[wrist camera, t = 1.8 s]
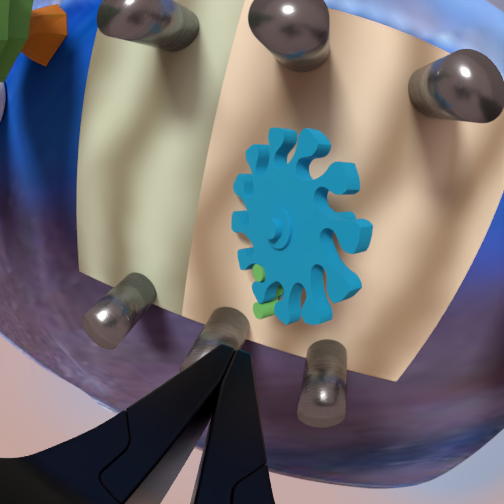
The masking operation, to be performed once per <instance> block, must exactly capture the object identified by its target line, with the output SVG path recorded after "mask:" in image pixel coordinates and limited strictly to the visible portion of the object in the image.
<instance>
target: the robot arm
mask: <svg viewBox="0 0 504 504" xmlns="http://www.w3.org/2000/svg"><path fill="white" fill-rule="evenodd" d="M211 416H212V417H211ZM210 419H211V421H210ZM209 421H210V425H209V428H208V432H207V437H206V441H205V445H204V449H203V453H202V457H201V461H200V465H199V470H198V474H197V478H196V482H195V486H194V490H193V494H192V498H191V503H190V504H275V502H274V498H273V493H272V488H271V483H270V478H269V471H268V465H266V463H267V459H266V452H265V446H264V439H263V432H262V425H261V418H260V412H259V405H258V398H257V391H256V383H255V376H254V369H253V362H252V356H251V354H250V353H249V352H246V351H243V350H240V349H237V350H236V351H235V348H234V347H231V346H228V345H225V344H219V345H218V346H216V347H215V348H214V349H212V350H211V351H210V352H208V353H207V354H205V355H204V356H203V357H201V358H200V359H198V360H197V361H196V362H194V363H193V364H191V365H190V366H189V367H187V368H186V369H184V370H183V371H181V372H180V373H179V374H177V375H176V376H174V377H173V378H171V379H170V380H168V381H167V382H166V383H164V384H163V385H161V386H160V387H158V388H157V389H155V390H154V391H152V392H151V393H149V394H148V395H146V396H145V397H143V398H142V399H140V400H139V401H137V402H136V403H134V404H133V405H131V406H130V407H128V408H127V409H126V411H125V410H124V411H122V412H120V413H119V414H117V415H116V416H114V417H113V418H111V419H109V420H108V421H106V422H105V423H103V424H101V425H99V426H97V427H96V428H94V429H92V430H89V431H87V432H85V433H83V434H81V435H79V436H77V437H75V438H72V439H70V440H68V441H66V442H63V443H60V444H58V445H56V446H53V447H51V448H48V449H46V450H43V451H41V452H38V453H36V454H33V455H29V456H25V457H19V458H0V504H160V503H161V501H162V500H163V498H164V497H165V495H166V494H167V492H168V490H169V489H170V487H171V485H172V484H173V482H174V480H175V479H176V477H177V476H178V474H179V472H180V471H181V469H182V467H183V466H184V464H185V462H186V461H187V459H188V457H189V456H190V454H191V452H192V450H193V449H194V447H195V445H196V444H197V442H198V440H199V439H200V437H201V435H202V433H203V432H204V430H205V428H206V426H207V425H208V423H209Z"/></svg>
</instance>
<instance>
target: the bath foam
mask: <svg viewBox="0 0 504 504" xmlns="http://www.w3.org/2000/svg"><path fill="white" fill-rule="evenodd" d="M5 100H6V91H5V84H4V82H0V121H1V119H2V116H3V113H4V108H5Z"/></svg>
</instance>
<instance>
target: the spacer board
mask: <svg viewBox="0 0 504 504" xmlns="http://www.w3.org/2000/svg"><path fill="white" fill-rule="evenodd" d="M174 1H175V2H177V3H179V4H181V5H182V6H184V7H186V8H187V9H189V10H190V11H192V12H193V13H195V14H196V16H197V17H198V20H199V25H200V26H199V32H198V35H197V37H196V38H195V40H194V41H193V42H192V43H191V44H190V45H189V46H188V47H186V48H185V49H183V50H180V51H177V52H168V51H164V50H161V49H157V48H154V47H150V46H146V45H143V44H139V43H135V42H131V41H126V40H122V39H118V38H113V37H108V36H106V35H104V34H103V33H102V32H101V31H100V30H99V28H98V29H97V33H96V38H95V42H94V46H93V51H92V56H91V60H90V66H89V71H88V76H87V82H86V88H85V95H84V102H83V110H82V118H81V127H80V138H79V150H78V167H77V242H78V260H79V271H80V272H82V273H84V274H86V275H88V276H90V277H92V278H94V279H97V280H99V281H101V282H103V283H105V284H108V285H110V286H112V287H115V286H116V285H117V284H118V283H119V282H120V281H121V280H123V279H124V278H125V277H126V276H127V275H128V274H130V273H133V272H136V273H140V274H143V275H144V276H146V277H147V278H148V279H149V280H150V281H151V282H152V283H153V285H154V287H155V289H156V293H157V297H156V300H155V302H154V303H153V304H154V305H156V306H159V307H161V308H164V309H166V310H169V311H171V312H174V313H176V314H179V315H181V316H184V317H187V318H189V319H192V320H194V321H197V322H200V323H202V324H206V323H207V321H208V319H209V318H210V316H211V314H212V313H213V311H214V310H216V309H217V308H220V307H232V308H235V309H237V310H239V311H240V312H242V313H243V314H244V315H245V316H246V317H247V319H248V321H249V324H250V330H249V332H248V335H247V338H246V339H247V340H250V341H253V342H256V343H259V344H262V345H265V346H269V347H272V348H275V349H278V350H281V351H284V352H288V353H291V354H294V355H297V356H301V357H304V358H306V355H307V350H308V348H309V347H310V345H312V344H313V343H314V342H316V341H319V340H324V339H330V340H335V341H338V342H340V343H341V344H342V345H344V347H345V348H346V350H347V370H351V371H355V372H358V373H362V374H366V375H370V376H374V377H379V378H383V379H387V380H391V381H397V380H398V379H399V377H400V376H401V375H402V373H403V372H404V371H405V369H406V368H407V367H408V365H409V364H410V363H411V361H412V360H413V359H414V357H415V356H416V354H417V353H418V352H419V350H420V349H421V347H422V346H423V344H424V343H425V342H426V340H427V339H428V337H429V336H430V334H431V333H432V331H433V330H434V328H435V326H436V325H437V323H438V322H439V320H440V319H441V317H442V315H443V314H444V312H445V311H446V309H447V307H448V306H449V304H450V302H451V301H452V299H453V297H454V295H455V294H456V292H457V290H458V288H459V287H460V285H461V283H462V281H463V279H464V277H465V276H466V274H467V272H468V270H469V268H470V266H471V264H472V262H473V260H474V258H475V256H476V254H477V252H478V250H479V248H480V246H481V244H482V242H483V239H484V237H485V235H486V233H487V231H488V228H489V226H490V224H491V221H492V219H493V217H494V214H495V212H496V209H497V207H498V204H499V202H500V199H501V196H502V194H503V191H504V108H503V111H502V112H501V114H500V115H499V116H498V117H497V118H496V119H495V120H493V121H492V122H489V123H474V122H465V121H455V120H444V119H432V118H429V117H426V116H424V115H423V114H421V113H420V112H419V111H418V110H417V109H416V108H415V107H414V105H413V104H412V102H411V100H410V97H409V93H408V82H409V79H410V77H411V75H412V74H413V73H414V72H415V71H416V70H417V69H419V68H421V67H423V66H425V65H428V64H430V63H432V62H434V61H436V60H438V59H440V58H443V57H445V56H447V55H449V54H450V53H448V52H446V51H444V50H442V49H440V48H438V47H436V46H434V45H431V44H429V43H427V42H425V41H423V40H420V39H418V38H416V37H413V36H411V35H409V34H406V33H404V32H401V31H399V30H396V29H393V28H391V27H388V26H385V25H382V24H380V23H377V22H374V21H371V20H368V19H365V18H361V17H358V16H355V15H352V14H348V13H345V12H341V11H337V10H333V9H329V8H328V11H329V16H330V50H329V55H328V58H327V60H326V61H325V62H324V64H323V65H321V66H320V67H319V68H317V69H315V70H313V71H309V72H296V71H293V70H290V69H288V68H286V67H285V66H283V65H282V64H281V63H280V62H279V61H278V60H277V59H276V58H275V57H274V56H273V55H272V54H271V53H270V51H269V50H268V49H267V48H266V47H265V46H264V45H263V44H262V43H261V42H260V41H259V40H258V39H257V38H256V37H255V36H254V35H253V33H252V31H251V29H250V27H249V23H248V13H249V9H250V6H251V4H252V2H253V1H254V0H174ZM273 127H276V128H285V129H292V130H295V131H296V132H297V142H296V145H295V146H294V148H293V149H292V150H291V151H290V152H289V154H288V157H287V164H288V163H289V162H290V161H291V159H292V157H293V156H294V153H295V151H296V147H297V143H298V137H299V134H300V132H301V131H302V130H303V129H304V128H310V129H316V130H319V131H321V132H322V133H323V134H324V135H325V136H326V137H327V138H328V140H329V141H330V143H331V145H332V146H331V149H330V152H329V153H328V155H327V156H325V157H323V158H316V159H314V160H312V162H311V163H310V166H309V173H310V176H311V177H312V179H313V180H314V179H316V178H318V177H320V176H321V175H323V174H324V173H325V171H326V170H327V169H328V167H329V166H330V165H331V164H332V163H334V162H349V163H355V166H356V168H357V171H358V175H359V179H360V191H359V192H357V193H356V194H353V195H336V194H334V193H332V192H331V191H328V195H327V201H328V204H329V206H330V207H331V209H333V210H334V211H335V212H348V211H351V212H353V213H354V214H355V216H356V219H366V220H368V221H370V222H371V223H372V225H373V232H372V238H371V242H370V245H369V247H368V249H367V251H364V252H360V253H356V254H349V253H346V252H345V251H344V250H343V249H342V248H341V246H340V244H339V242H338V239H337V237H336V234H335V232H333V242H334V245H335V247H336V250H337V252H338V254H339V257H340V258H341V260H342V261H343V263H344V264H345V265H346V266H347V267H348V268H349V269H350V270H351V271H353V272H354V273H356V274H357V275H358V277H359V278H360V280H361V283H362V288H361V289H360V290H359V291H358V292H357V293H356V294H355V295H354V296H353V297H351V298H349V299H346V300H343V301H341V302H338V303H335V304H334V303H333V302H332V301H331V300H330V298H329V296H328V293H327V275H326V272H325V269H324V270H323V281H324V290H325V293H326V297H327V299H328V302H329V303H330V305H331V308H332V312H333V317H332V320H329V321H327V322H324V323H321V324H317V325H310V324H307V323H305V322H304V321H303V318H302V314H301V318H300V320H299V321H297V322H294V323H291V324H288V325H286V324H284V323H283V322H282V321H280V320H279V319H278V318H277V316H276V315H273V316H270V317H266V318H263V319H257V318H256V317H255V315H254V312H253V304H254V303H255V302H258V301H257V299H256V297H255V295H254V293H253V290H252V284H253V282H255V281H256V280H255V278H254V276H253V269H248V270H241V269H240V266H239V261H238V253H237V251H238V250H239V249H244V248H251V247H253V244H252V242H251V241H250V239H249V238H248V237H247V236H246V235H245V234H244V233H241V232H238V233H235V232H233V230H232V229H231V221H232V214H233V212H234V211H244V210H246V211H247V208H246V206H245V204H244V202H243V200H242V199H241V198H240V197H239V196H237V195H236V194H235V192H234V190H233V185H234V182H235V179H236V177H237V176H238V174H252V171H251V168H250V166H249V164H248V162H247V160H246V150H247V149H248V148H249V147H250V146H252V145H253V144H264V145H269V141H268V133H269V130H270V128H273ZM305 300H306V291H305V288H303V290H302V294H301V310H302V306H303V304H304V302H305ZM278 301H281V300H278Z"/></svg>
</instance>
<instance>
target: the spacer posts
mask: <svg viewBox="0 0 504 504" xmlns="http://www.w3.org/2000/svg"><path fill="white" fill-rule="evenodd" d="M248 23H249V27H250V29H251V31H252V33H253V35H254V36H255V37H256V38H257V39H258V40H259V41H260V42H261V43H262V44H263V45H264V46H265V47H266V48H267V49H268V50H269V51H270V53H271V54H272V55H273V56H274V57H275V58H276V59H277V60H278V61H279V62H280V63H281V64H282V65H283V66H285V67H286V68H288V69H290V70H293V71H296V72H309V71H313V70H315V69H317V68H319V67H320V66H321V65H323V64H324V62H325V61H326V60H327V58H328V55H329V50H330V16H329V11H328V8H327V6H326V4H325V2H324V1H323V0H254V1H253V2H252V4H251V6H250V9H249V13H248ZM97 25H98V28H99V30H100V31H101V32H102V33H103V34H104V35H106V36H108V37H113V38H118V39H122V40H126V41H131V42H135V43H139V44H143V45H146V46H150V47H154V48H157V49H161V50H164V51H168V52H177V51H180V50H183V49H185V48H186V47H188V46H189V45H190V44H191V43H192V42H193V41H194V40H195V38H196V37H197V35H198V32H199V26H200V25H199V20H198V17H197V16H196V14H195V13H193V12H192V11H190V10H189V9H187V8H186V7H184V6H182V5H181V4H179V3H177V2H175V1H174V0H103V1H102V3H101V5H100V7H99V10H98V14H97ZM408 93H409V97H410V100H411V102H412V104H413V105H414V107H415V108H416V109H417V110H418V111H419V112H420V113H421V114H423V115H424V116H426V117H429V118H432V119H444V120H455V121H465V122H474V123H489V122H492V121H493V120H495V119H496V118H497V117H498V116H499V115H500V114H501V112H502V111H503V108H504V81H503V78H502V76H501V74H500V72H499V70H498V69H497V67H496V66H495V65H494V63H493V62H492V61H491V60H490V59H489V58H488V57H486V56H485V55H483V54H482V53H480V52H478V51H475V50H471V49H462V50H458V51H456V52H454V53H451V54H449V55H447V56H445V57H443V58H440V59H438V60H436V61H434V62H432V63H430V64H428V65H425V66H423V67H421V68H419V69H417V70H416V71H415V72H414V73H413V74H412V75H411V77H410V79H409V82H408ZM156 297H157V293H156V289H155V287H154V285H153V283H152V282H151V281H150V280H149V279H148V278H147V277H146V276H144V275H143V274H140V273H136V272H133V273H130V274H128V275H127V276H126V277H125V278H124V279H123V280H121V281H120V282H119V283H118V284H117V285H116V286H115V287H114V288H113V289H111V290H110V291H109V292H108V293H107V294H106V295H105V296H104V297H103V298H102V299H101V300H100V301H98V302H97V303H96V304H95V305H94V306H93V307H92V308H91V309H90V310H89V311H88V312H87V313H86V314H85V315H84V316H83V318H82V323H83V327H84V329H85V331H86V333H87V334H88V336H89V337H90V338H91V339H92V340H93V341H94V342H95V343H96V344H97V345H99V346H101V347H102V348H105V349H109V350H112V349H115V348H116V347H117V346H118V344H119V343H120V342H121V341H122V340H123V338H124V337H125V336H126V335H127V334H128V332H129V331H130V330H131V329H132V328H133V327H134V325H135V324H136V323H137V322H138V321H139V319H140V318H141V317H142V316H143V315H144V314H145V312H146V311H147V310H148V309H149V308H150V307H151V306H152V304H153V303H154V302H155V300H156ZM249 330H250V324H249V321H248V319H247V317H246V316H245V315H244V314H243V313H242V312H240V311H239V310H237V309H235V308H232V307H220V308H217V309H216V310H214V311H213V313H212V314H211V316H210V318H209V319H208V321H207V323H206V324H205V326H204V328H203V329H202V331H201V333H200V335H199V336H198V338H197V340H196V341H195V343H194V345H193V347H192V348H191V350H190V352H189V353H188V355H187V357H186V359H185V360H184V362H183V364H182V365H181V368H180V372H181V371H183V370H184V369H186V368H187V367H189V366H190V365H191V364H193V363H194V362H196V361H197V360H198V359H200V358H201V357H203V356H204V355H205V354H207V353H208V352H210V351H211V350H212V349H214V348H215V347H216V346H218V345H219V344H225V345H228V346H231V347H234V348H235V351H236V350H237V349H240V350H242V348H243V345H244V343H245V340H246V338H247V335H248V332H249ZM346 392H347V350H346V348H345V347H344V345H342V344H341V343H340V342H338V341H335V340H330V339H324V340H319V341H316V342H314V343H313V344H312V345H310V347H309V348H308V350H307V355H306V361H305V368H304V374H303V380H302V386H301V392H300V398H299V403H298V409H297V417H298V419H299V420H300V421H301V422H302V423H304V424H306V425H308V426H312V427H317V428H326V427H332V426H335V425H337V424H339V423H341V422H342V421H343V420H344V418H345V416H346Z"/></svg>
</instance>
